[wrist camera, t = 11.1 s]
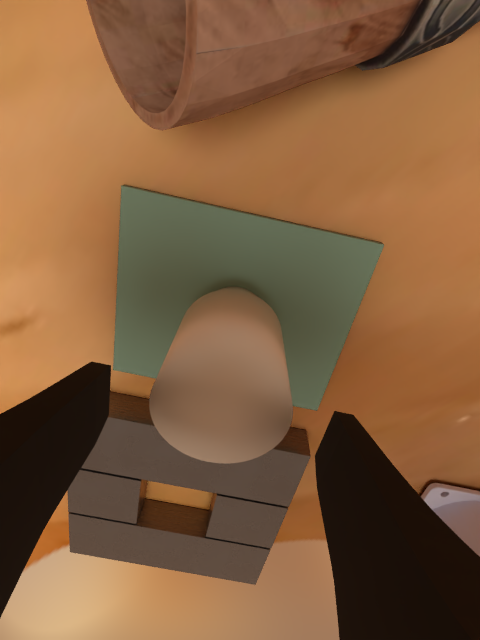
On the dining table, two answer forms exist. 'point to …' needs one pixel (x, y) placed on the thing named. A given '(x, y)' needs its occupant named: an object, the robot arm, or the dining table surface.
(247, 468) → the bore plate
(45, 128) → the dining table surface
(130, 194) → the mat
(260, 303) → the end cover
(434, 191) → the dining table surface
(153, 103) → the drinking horn
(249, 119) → the dining table surface
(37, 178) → the dining table surface
